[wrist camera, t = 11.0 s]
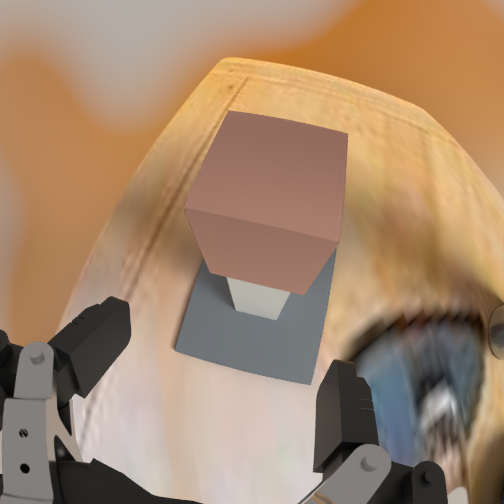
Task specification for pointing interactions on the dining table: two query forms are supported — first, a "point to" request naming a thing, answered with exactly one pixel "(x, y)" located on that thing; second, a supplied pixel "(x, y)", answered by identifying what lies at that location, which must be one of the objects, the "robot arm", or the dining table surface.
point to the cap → (269, 200)
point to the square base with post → (256, 325)
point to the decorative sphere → (503, 499)
